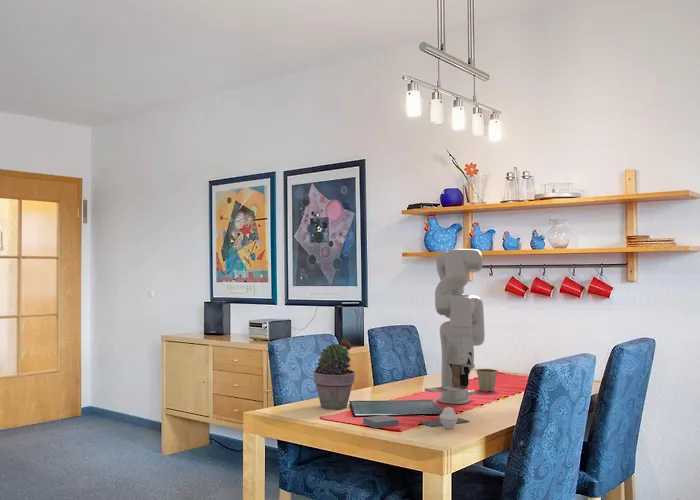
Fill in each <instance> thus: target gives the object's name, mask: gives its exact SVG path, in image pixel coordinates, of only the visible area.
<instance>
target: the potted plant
mask: <svg viewBox="0 0 700 500" xmlns="http://www.w3.org/2000/svg"><path fill="white" fill-rule="evenodd" d="M344 347H345V348H344ZM351 349H352V345H351V343H350V341H349V340H348V339H342V340H341V342H339V343H334V342H331V343H330V345H326V348H323V349H322V351H321V352H320V354H321V355H320V358H318V360H315V361H316V362H317V361H318V362H317V363H316V364H315V366H316V367H315V369H314V370H313V381H314V384H315V385H316V386H315V387H316V390H317V394H318V399H319V403H320V408H322V409H324V410H333V411H335V410H337V411H338V410H344V409H347V407H348V403H349V399H350V396H351V391H352V386H353V384H355V376H356V371H354V370H352V369H351V366H352V364H354V363H353V361H352V360H351V358H350V357H351V356H353V354H352V353H350V352H349V351H350V350H351ZM350 361H351V362H350ZM351 363H352V364H351Z"/></svg>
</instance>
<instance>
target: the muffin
mask: <svg viewBox="0 0 700 500" xmlns="http://www.w3.org/2000/svg"><path fill="white" fill-rule="evenodd" d="M438 417H439V418H438V419H440V421H441V423H442V425H443V426H442V427H443V429H445V430H452V429H454V427H455V426H456V425H457V424H456V422H457V419H458V418H459V417H458V415H457V413H456V412H455V410H454V408H453V407H450V406H445V407H444V408H443V409H442V412H441V413H440V414H439V416H438Z"/></svg>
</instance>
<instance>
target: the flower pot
mask: <svg viewBox="0 0 700 500" xmlns="http://www.w3.org/2000/svg"><path fill="white" fill-rule="evenodd" d="M475 372H476V374H477V379H478V386H479V387H478V388H479V391H482V392H494V391H495V389H496V380H497V375H498V373H499V370H498V369H493V368H477V369H476V370H475Z"/></svg>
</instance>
